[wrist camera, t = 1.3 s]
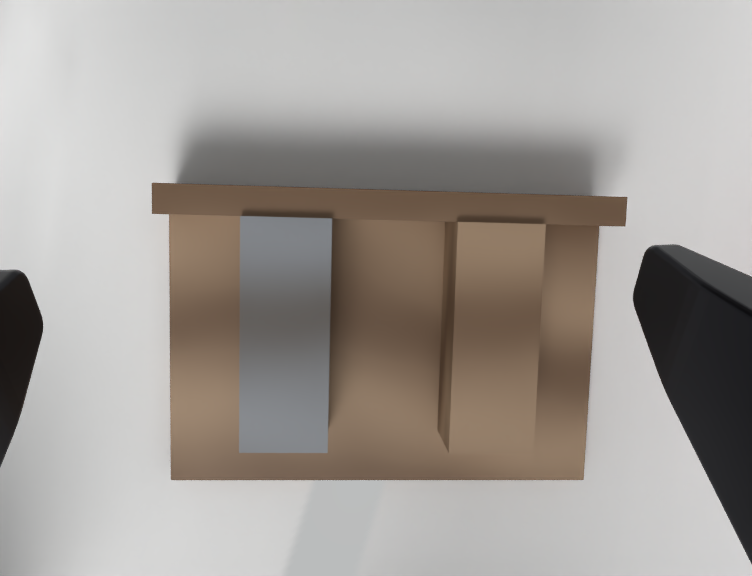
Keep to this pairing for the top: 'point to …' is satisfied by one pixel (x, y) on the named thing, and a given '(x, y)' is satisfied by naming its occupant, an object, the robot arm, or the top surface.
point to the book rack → (380, 332)
